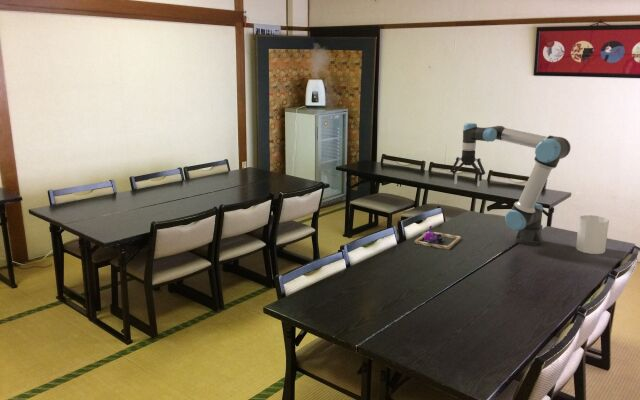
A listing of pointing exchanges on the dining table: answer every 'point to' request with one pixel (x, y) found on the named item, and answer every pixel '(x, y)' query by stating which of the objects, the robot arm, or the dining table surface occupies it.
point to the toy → (432, 236)
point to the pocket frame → (437, 244)
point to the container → (592, 234)
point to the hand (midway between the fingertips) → (466, 185)
